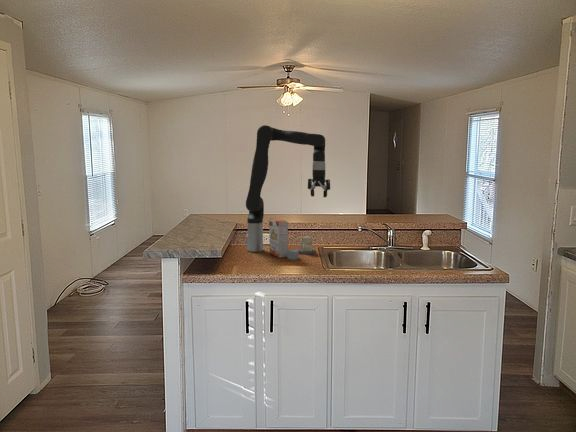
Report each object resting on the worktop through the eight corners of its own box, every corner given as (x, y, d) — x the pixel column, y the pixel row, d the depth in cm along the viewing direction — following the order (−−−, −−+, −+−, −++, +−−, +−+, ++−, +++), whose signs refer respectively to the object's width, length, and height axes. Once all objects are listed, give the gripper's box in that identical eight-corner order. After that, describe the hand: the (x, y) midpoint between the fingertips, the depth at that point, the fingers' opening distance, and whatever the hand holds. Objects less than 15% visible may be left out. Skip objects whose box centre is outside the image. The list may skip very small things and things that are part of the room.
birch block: (300, 249, 290) (300, 236, 289) (308, 249, 291) (308, 236, 290) (303, 251, 285) (303, 238, 284) (311, 250, 287) (311, 237, 286)
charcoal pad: (295, 253, 288) (295, 250, 288) (303, 250, 294) (303, 248, 294) (308, 255, 282) (308, 252, 282) (316, 252, 289) (316, 250, 289)
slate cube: (287, 258, 273) (287, 251, 273) (292, 257, 277) (292, 249, 276) (293, 259, 271) (293, 252, 270) (298, 258, 274) (298, 250, 274)
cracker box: (269, 253, 287) (268, 218, 284) (278, 252, 289) (278, 217, 286) (278, 258, 274) (278, 221, 271) (288, 257, 277) (288, 220, 274)
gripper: (305, 169, 285) (305, 196, 287) (325, 169, 276) (325, 198, 278) (312, 168, 291) (312, 195, 293) (332, 169, 282) (332, 197, 284)
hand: (318, 196), depth 286 cm, fingers open, 8 cm apart
